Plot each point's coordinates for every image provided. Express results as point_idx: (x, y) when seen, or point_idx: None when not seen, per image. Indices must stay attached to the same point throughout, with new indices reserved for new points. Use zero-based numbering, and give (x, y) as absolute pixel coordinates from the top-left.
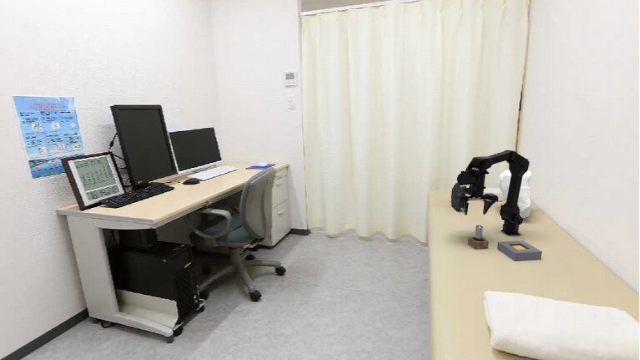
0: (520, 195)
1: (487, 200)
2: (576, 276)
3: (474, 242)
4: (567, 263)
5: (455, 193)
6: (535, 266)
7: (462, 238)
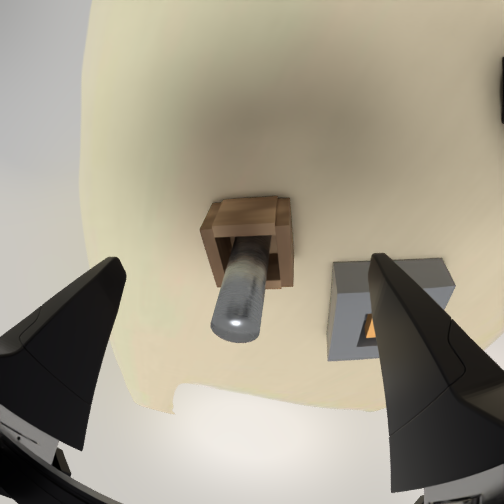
0: None
1: (446, 489)
2: None
3: (216, 280)
4: None
5: None
6: None
7: (212, 111)
